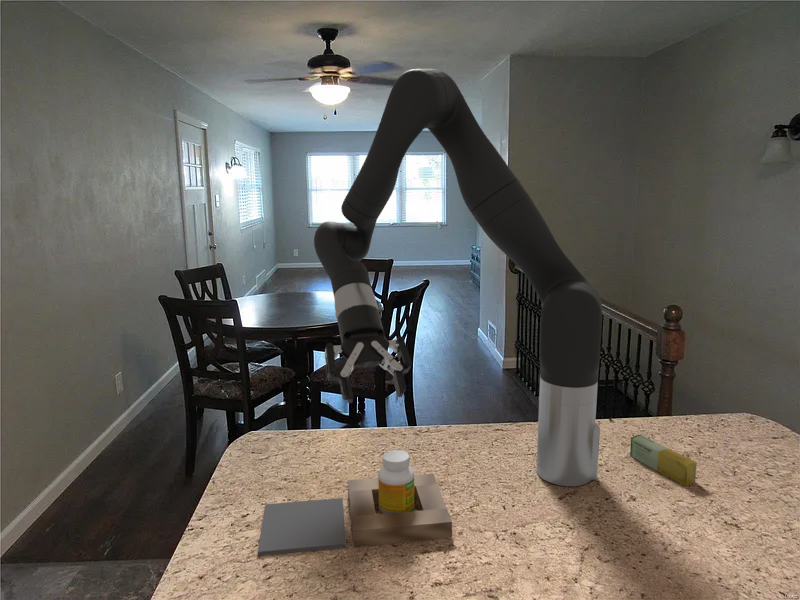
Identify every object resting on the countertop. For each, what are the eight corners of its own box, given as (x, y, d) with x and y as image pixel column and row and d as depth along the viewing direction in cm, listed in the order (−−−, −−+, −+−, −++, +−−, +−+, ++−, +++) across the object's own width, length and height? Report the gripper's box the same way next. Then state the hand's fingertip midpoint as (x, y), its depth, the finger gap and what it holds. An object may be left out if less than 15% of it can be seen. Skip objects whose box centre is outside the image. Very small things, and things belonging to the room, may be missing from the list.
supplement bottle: (411, 526, 87) (410, 465, 85) (375, 522, 88) (374, 462, 86) (417, 506, 92) (417, 449, 90) (383, 503, 93) (382, 446, 91)
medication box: (628, 457, 108) (629, 436, 107) (639, 453, 109) (640, 433, 108) (685, 487, 97) (687, 465, 96) (696, 483, 98) (698, 461, 98)
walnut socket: (433, 487, 98) (433, 473, 97) (452, 537, 84) (452, 521, 84) (348, 494, 96) (347, 480, 95) (353, 546, 82) (353, 530, 82)
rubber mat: (342, 501, 94) (342, 497, 94) (346, 547, 82) (346, 543, 82) (265, 507, 92) (265, 504, 92) (257, 555, 81) (257, 551, 80)
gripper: (320, 306, 100) (336, 393, 92) (400, 300, 104) (422, 383, 96) (315, 329, 106) (330, 412, 98) (391, 322, 110) (412, 402, 102)
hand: (376, 398), depth 97 cm, fingers open, 8 cm apart
